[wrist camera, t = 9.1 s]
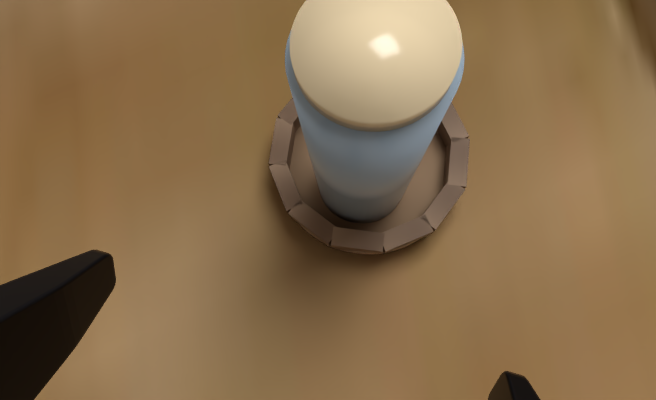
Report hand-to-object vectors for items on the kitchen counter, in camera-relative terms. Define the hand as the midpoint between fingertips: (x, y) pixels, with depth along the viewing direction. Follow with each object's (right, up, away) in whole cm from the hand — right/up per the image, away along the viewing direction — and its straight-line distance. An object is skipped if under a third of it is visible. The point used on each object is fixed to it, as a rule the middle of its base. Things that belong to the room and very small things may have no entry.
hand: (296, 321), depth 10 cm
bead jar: (+2, +4, +13) cm, 14 cm away
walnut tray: (+3, +5, +14) cm, 15 cm away
